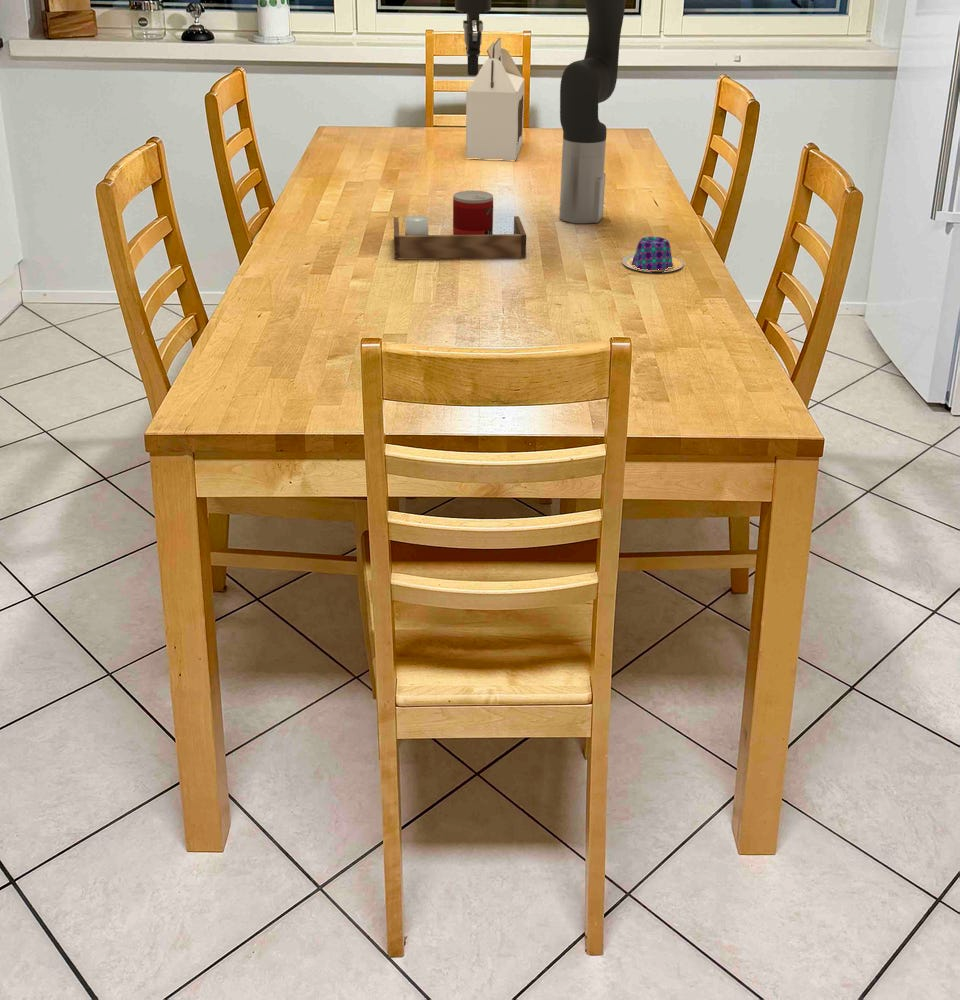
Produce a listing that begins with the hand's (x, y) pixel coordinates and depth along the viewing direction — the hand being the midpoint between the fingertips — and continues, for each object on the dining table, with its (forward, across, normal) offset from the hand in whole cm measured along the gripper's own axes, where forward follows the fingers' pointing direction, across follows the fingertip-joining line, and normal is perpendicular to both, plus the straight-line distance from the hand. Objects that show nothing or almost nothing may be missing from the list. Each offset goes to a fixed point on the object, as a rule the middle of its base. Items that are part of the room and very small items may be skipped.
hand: (472, 74), depth 246 cm
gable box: (+29, +58, -10) cm, 66 cm away
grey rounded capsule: (+29, -33, +13) cm, 46 cm away
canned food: (+29, -30, +2) cm, 42 cm away
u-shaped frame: (+29, -29, +5) cm, 41 cm away
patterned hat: (+30, -42, -33) cm, 61 cm away
